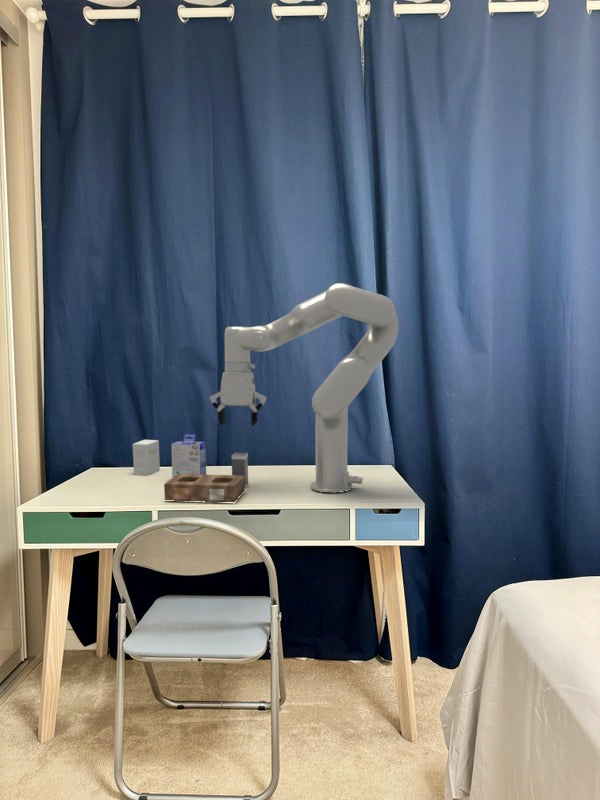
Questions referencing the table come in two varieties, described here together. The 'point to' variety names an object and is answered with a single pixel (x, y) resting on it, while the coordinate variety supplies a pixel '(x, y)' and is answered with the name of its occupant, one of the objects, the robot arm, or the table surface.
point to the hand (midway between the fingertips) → (238, 424)
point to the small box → (146, 457)
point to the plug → (240, 465)
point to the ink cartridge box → (188, 457)
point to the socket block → (204, 488)
